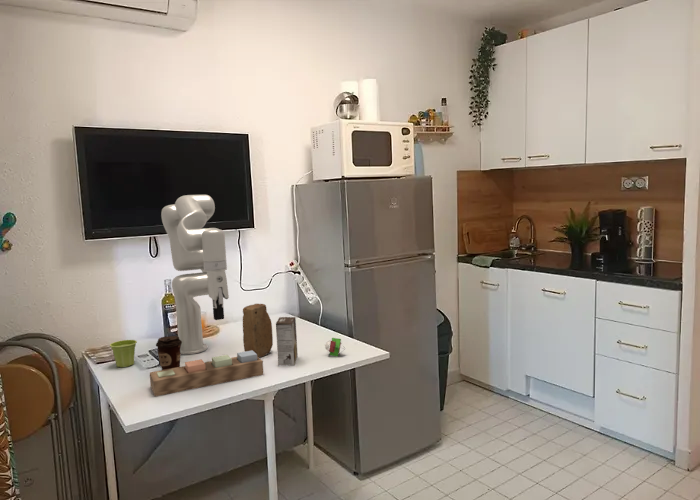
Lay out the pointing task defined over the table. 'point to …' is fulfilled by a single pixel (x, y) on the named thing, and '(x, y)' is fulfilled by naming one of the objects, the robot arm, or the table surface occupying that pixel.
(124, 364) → the plant pot
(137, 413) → the table surface
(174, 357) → the coffee cup
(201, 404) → the table surface
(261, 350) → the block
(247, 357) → the slate button
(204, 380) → the button panel
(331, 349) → the geometric puzzle
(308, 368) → the table surface
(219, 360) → the sage button
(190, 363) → the terracotta button
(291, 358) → the coffee box
